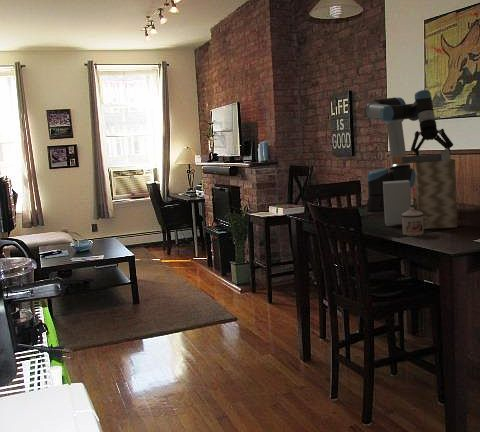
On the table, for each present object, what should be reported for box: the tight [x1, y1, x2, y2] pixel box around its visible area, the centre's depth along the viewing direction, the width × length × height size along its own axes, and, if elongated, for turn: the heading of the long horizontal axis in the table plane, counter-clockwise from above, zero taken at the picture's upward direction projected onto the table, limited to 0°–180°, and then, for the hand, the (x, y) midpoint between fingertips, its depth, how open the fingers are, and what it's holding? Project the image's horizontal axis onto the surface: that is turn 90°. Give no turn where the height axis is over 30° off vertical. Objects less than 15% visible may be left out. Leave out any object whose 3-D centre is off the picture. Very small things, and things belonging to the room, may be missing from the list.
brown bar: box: [393, 150, 451, 164], centre depth 236 cm, size 24×8×4 cm, turn 76°
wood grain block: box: [414, 158, 458, 230], centre depth 237 cm, size 16×9×30 cm, turn 76°
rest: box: [383, 180, 412, 227], centre depth 254 cm, size 12×10×20 cm
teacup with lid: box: [401, 207, 430, 237], centre depth 226 cm, size 12×9×12 cm
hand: (434, 163), depth 251 cm, fingers open, 13 cm apart
